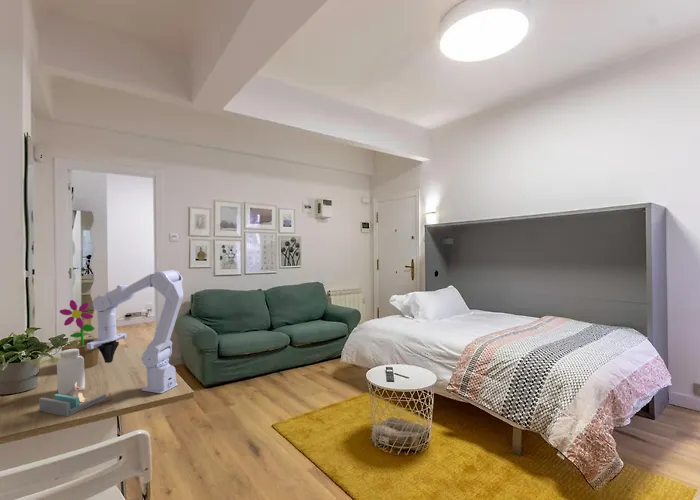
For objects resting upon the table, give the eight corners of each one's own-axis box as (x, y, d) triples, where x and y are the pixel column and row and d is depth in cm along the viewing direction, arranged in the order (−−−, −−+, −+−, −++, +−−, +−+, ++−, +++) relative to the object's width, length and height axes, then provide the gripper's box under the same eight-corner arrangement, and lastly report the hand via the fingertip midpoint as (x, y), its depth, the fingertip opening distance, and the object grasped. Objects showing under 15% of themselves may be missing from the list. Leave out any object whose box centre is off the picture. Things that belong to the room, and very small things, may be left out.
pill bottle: (55, 397, 126) (53, 355, 126) (61, 389, 134) (59, 349, 133) (83, 392, 130) (81, 351, 130) (87, 384, 137) (85, 346, 137)
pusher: (79, 408, 118) (78, 397, 118) (76, 409, 117) (75, 398, 117) (57, 404, 121) (57, 393, 121) (54, 405, 120) (53, 395, 120)
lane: (106, 398, 125) (105, 387, 125) (67, 416, 113) (66, 403, 113) (80, 393, 129) (79, 382, 129) (39, 410, 117) (39, 398, 117)
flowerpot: (55, 373, 149) (51, 301, 148) (73, 361, 163) (70, 296, 162) (94, 370, 152) (91, 300, 151) (108, 358, 166) (106, 294, 165)
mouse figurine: (59, 401, 123) (58, 382, 123) (87, 397, 126) (86, 378, 126) (53, 408, 119) (52, 388, 118) (83, 403, 122) (82, 384, 121)
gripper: (116, 321, 142) (117, 354, 143) (79, 330, 128) (81, 368, 129) (130, 322, 140) (131, 356, 141) (94, 331, 126) (96, 369, 127)
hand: (108, 362), depth 135 cm, fingers closed
